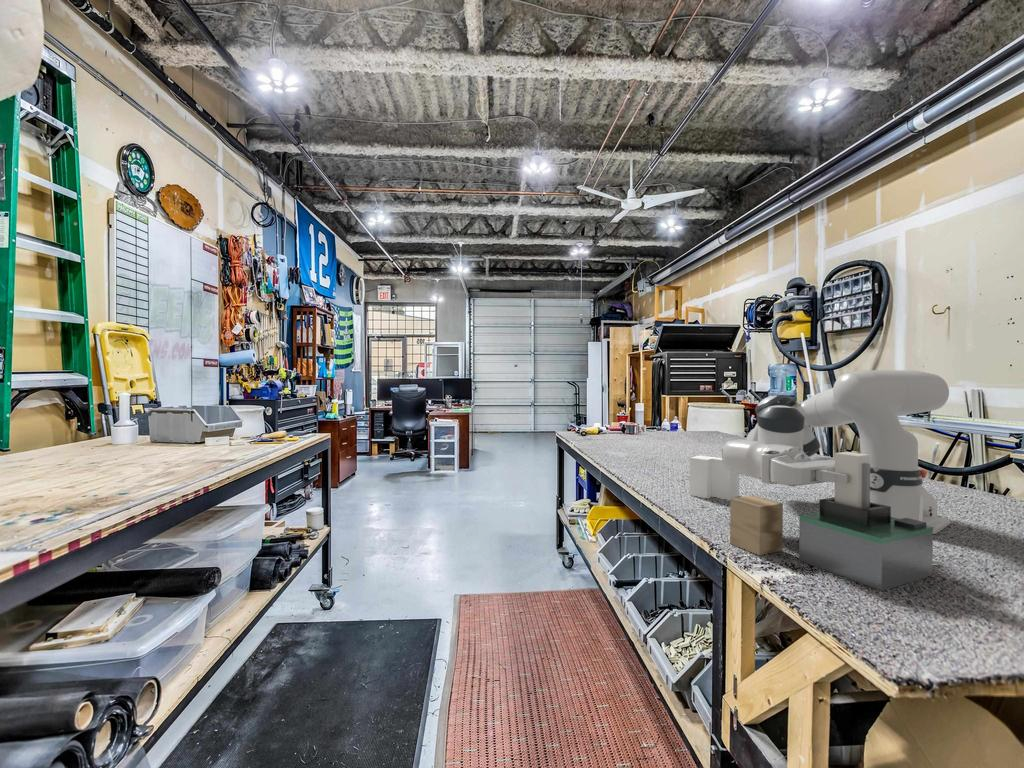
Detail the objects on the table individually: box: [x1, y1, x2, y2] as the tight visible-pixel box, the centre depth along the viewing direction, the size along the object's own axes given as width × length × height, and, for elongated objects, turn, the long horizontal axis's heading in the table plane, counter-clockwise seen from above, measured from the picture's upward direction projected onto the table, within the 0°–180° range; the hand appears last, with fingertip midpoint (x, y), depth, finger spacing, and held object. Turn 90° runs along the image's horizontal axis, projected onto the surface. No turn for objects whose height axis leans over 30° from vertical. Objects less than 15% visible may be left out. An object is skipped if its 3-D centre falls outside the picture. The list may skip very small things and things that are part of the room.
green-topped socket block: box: [798, 496, 934, 592], centre depth 83 cm, size 16×14×12 cm
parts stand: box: [729, 494, 784, 557], centre depth 93 cm, size 7×7×10 cm
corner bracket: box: [689, 454, 741, 501], centre depth 136 cm, size 11×11×12 cm
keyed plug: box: [834, 451, 870, 509], centre depth 84 cm, size 4×5×12 cm
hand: (857, 478), depth 84 cm, fingers open, 4 cm apart
